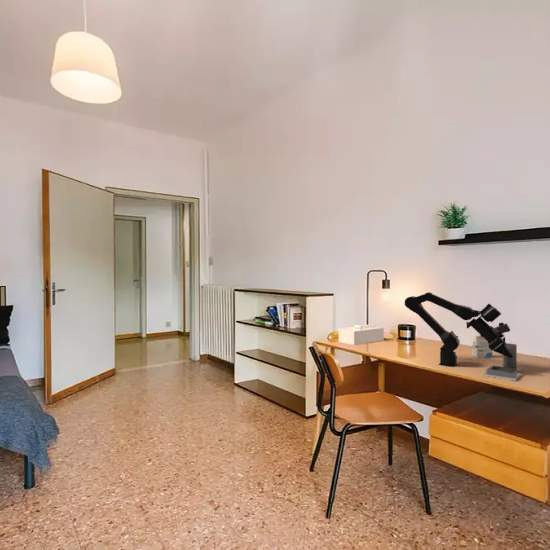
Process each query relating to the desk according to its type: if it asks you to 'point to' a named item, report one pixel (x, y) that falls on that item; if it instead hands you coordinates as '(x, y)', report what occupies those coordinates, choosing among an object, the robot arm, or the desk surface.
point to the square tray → (502, 372)
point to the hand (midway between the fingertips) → (512, 355)
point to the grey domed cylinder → (512, 361)
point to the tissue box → (361, 334)
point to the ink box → (480, 347)
